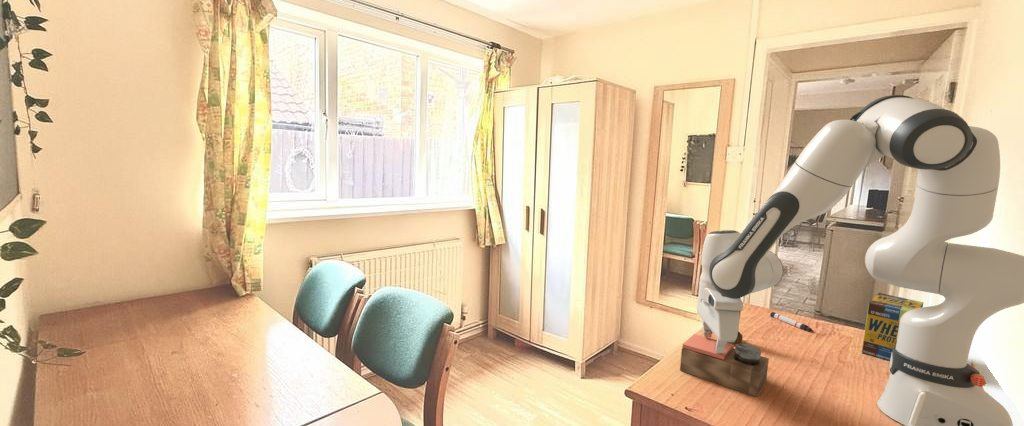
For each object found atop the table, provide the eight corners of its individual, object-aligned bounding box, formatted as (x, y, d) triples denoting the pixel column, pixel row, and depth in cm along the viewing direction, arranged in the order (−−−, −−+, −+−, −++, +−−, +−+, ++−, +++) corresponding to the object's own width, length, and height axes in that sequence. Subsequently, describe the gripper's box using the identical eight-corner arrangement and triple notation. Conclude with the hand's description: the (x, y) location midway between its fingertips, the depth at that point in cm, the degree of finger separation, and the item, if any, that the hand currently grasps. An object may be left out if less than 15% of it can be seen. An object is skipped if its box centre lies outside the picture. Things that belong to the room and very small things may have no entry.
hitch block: (766, 380, 109) (768, 358, 108) (757, 396, 101) (759, 372, 100) (692, 357, 120) (694, 337, 119) (679, 370, 113) (681, 348, 112)
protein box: (861, 353, 126) (868, 302, 124) (871, 339, 136) (878, 292, 134) (909, 367, 118) (917, 312, 116) (916, 351, 128) (924, 301, 126)
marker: (769, 317, 154) (770, 312, 154) (774, 316, 155) (774, 311, 154) (811, 334, 140) (811, 328, 139) (815, 333, 140) (816, 328, 140)
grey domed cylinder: (763, 382, 106) (766, 351, 105) (745, 386, 104) (748, 354, 103) (744, 371, 111) (747, 342, 110) (727, 374, 109) (730, 344, 108)
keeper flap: (733, 348, 112) (733, 344, 112) (723, 359, 106) (724, 355, 106) (694, 337, 119) (694, 333, 119) (682, 347, 112) (682, 344, 112)
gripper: (693, 280, 120) (689, 327, 122) (717, 304, 100) (712, 360, 102) (717, 281, 120) (712, 329, 121) (746, 306, 100) (740, 363, 101)
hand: (712, 343), depth 112 cm, fingers open, 8 cm apart
